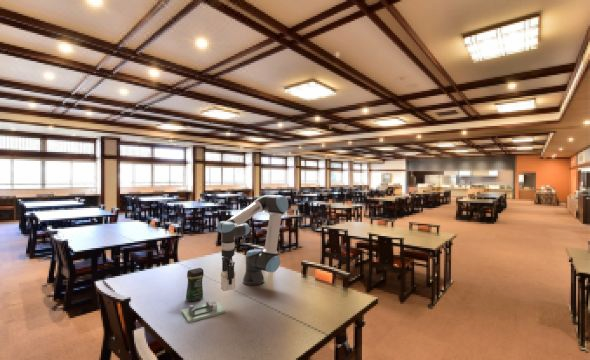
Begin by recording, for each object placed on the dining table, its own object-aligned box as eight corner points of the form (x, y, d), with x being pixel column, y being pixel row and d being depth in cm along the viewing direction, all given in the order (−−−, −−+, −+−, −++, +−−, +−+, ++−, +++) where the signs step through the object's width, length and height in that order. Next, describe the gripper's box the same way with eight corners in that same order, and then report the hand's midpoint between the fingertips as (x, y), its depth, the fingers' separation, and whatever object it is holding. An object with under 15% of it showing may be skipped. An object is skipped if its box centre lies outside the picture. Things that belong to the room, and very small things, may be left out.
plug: (232, 285, 166) (232, 269, 166) (235, 288, 162) (235, 271, 162) (220, 288, 162) (220, 272, 162) (223, 291, 158) (223, 274, 158)
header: (208, 306, 156) (208, 298, 156) (212, 311, 151) (212, 303, 151) (188, 311, 150) (188, 303, 150) (192, 317, 144) (192, 308, 144)
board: (216, 303, 164) (216, 296, 164) (225, 312, 153) (225, 305, 153) (181, 311, 152) (181, 304, 152) (188, 322, 141) (188, 314, 141)
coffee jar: (190, 303, 163) (191, 272, 163) (184, 299, 168) (184, 269, 168) (205, 298, 170) (205, 268, 170) (198, 294, 175) (199, 265, 175)
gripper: (216, 246, 166) (216, 284, 167) (227, 253, 152) (227, 294, 153) (228, 244, 171) (228, 281, 171) (240, 251, 157) (240, 291, 157)
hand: (227, 287), depth 162 cm, fingers closed on plug, 4 cm apart
